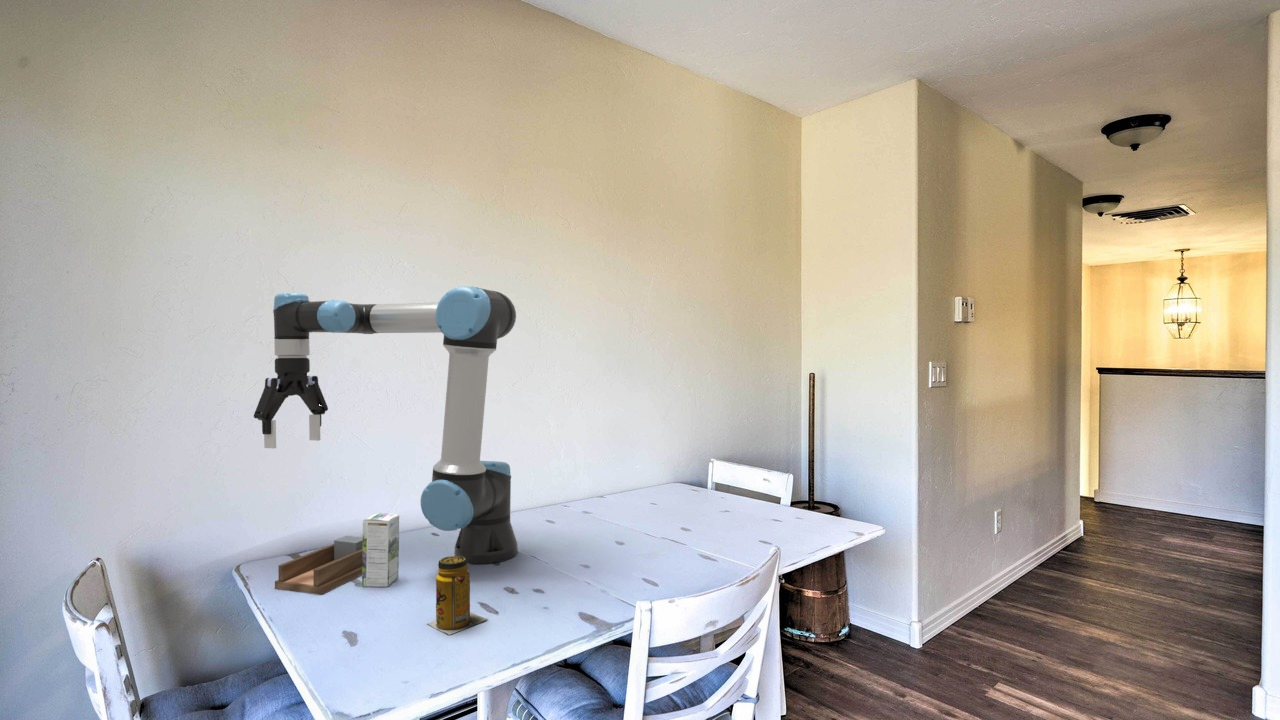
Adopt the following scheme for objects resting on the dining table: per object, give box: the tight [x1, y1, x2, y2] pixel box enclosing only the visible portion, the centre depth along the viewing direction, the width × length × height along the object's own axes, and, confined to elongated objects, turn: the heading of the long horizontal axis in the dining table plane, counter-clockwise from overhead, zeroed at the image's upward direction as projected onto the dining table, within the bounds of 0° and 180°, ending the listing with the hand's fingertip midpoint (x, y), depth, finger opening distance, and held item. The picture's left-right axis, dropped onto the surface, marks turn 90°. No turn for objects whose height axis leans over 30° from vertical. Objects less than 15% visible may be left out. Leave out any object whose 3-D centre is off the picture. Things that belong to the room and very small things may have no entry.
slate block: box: [333, 535, 363, 561], centre depth 150 cm, size 6×4×5 cm, turn 74°
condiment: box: [426, 555, 488, 636], centre depth 120 cm, size 7×8×12 cm
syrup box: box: [361, 512, 400, 588], centre depth 140 cm, size 6×6×14 cm
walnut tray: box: [274, 543, 362, 596], centre depth 144 cm, size 12×19×5 cm, turn 164°
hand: (293, 444), depth 158 cm, fingers open, 13 cm apart
